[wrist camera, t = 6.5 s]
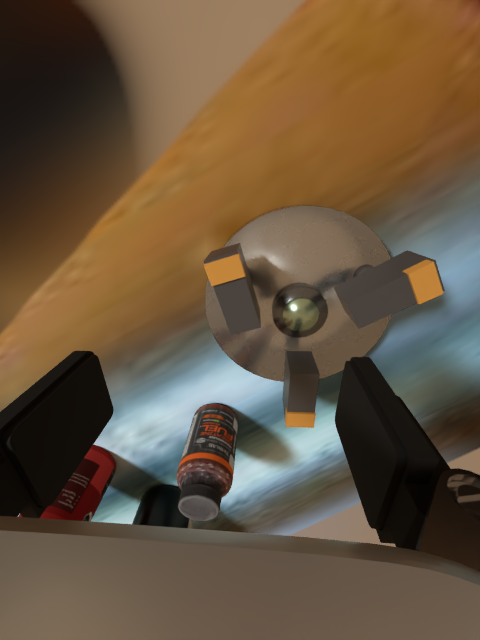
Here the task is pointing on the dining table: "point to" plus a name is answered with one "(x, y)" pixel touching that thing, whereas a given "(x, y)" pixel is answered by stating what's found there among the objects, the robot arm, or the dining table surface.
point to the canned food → (84, 488)
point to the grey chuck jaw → (389, 287)
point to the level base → (300, 261)
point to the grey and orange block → (233, 288)
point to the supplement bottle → (207, 462)
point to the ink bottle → (161, 509)
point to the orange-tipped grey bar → (300, 388)
